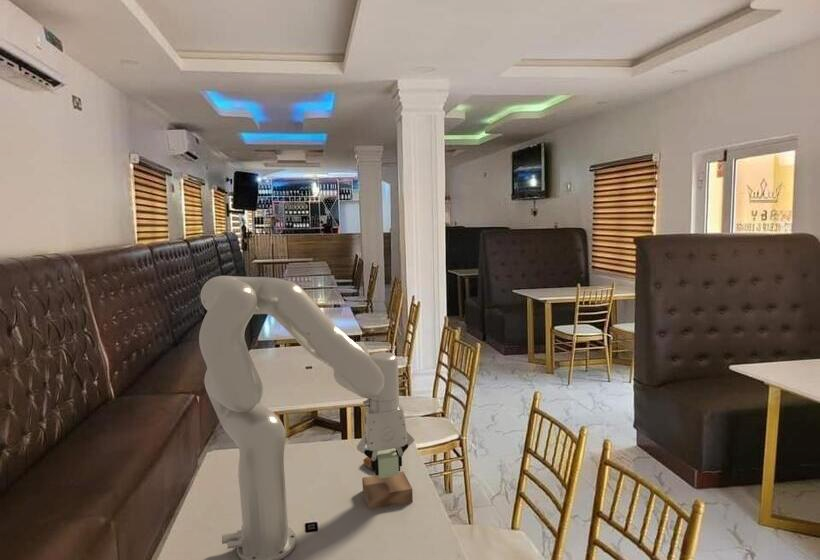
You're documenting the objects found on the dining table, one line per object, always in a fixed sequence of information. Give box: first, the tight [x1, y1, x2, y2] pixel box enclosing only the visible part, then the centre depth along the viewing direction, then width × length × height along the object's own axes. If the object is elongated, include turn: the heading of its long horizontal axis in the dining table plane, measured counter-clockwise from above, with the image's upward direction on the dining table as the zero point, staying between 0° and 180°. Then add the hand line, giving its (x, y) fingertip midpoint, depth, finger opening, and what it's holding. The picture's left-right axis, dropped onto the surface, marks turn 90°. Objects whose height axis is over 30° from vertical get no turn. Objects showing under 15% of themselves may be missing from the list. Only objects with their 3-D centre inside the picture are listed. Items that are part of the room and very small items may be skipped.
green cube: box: [377, 448, 400, 479], centre depth 136 cm, size 5×5×5 cm
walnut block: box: [361, 470, 414, 511], centre depth 137 cm, size 11×9×4 cm
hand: (386, 470), depth 137 cm, fingers closed on green cube, 5 cm apart
